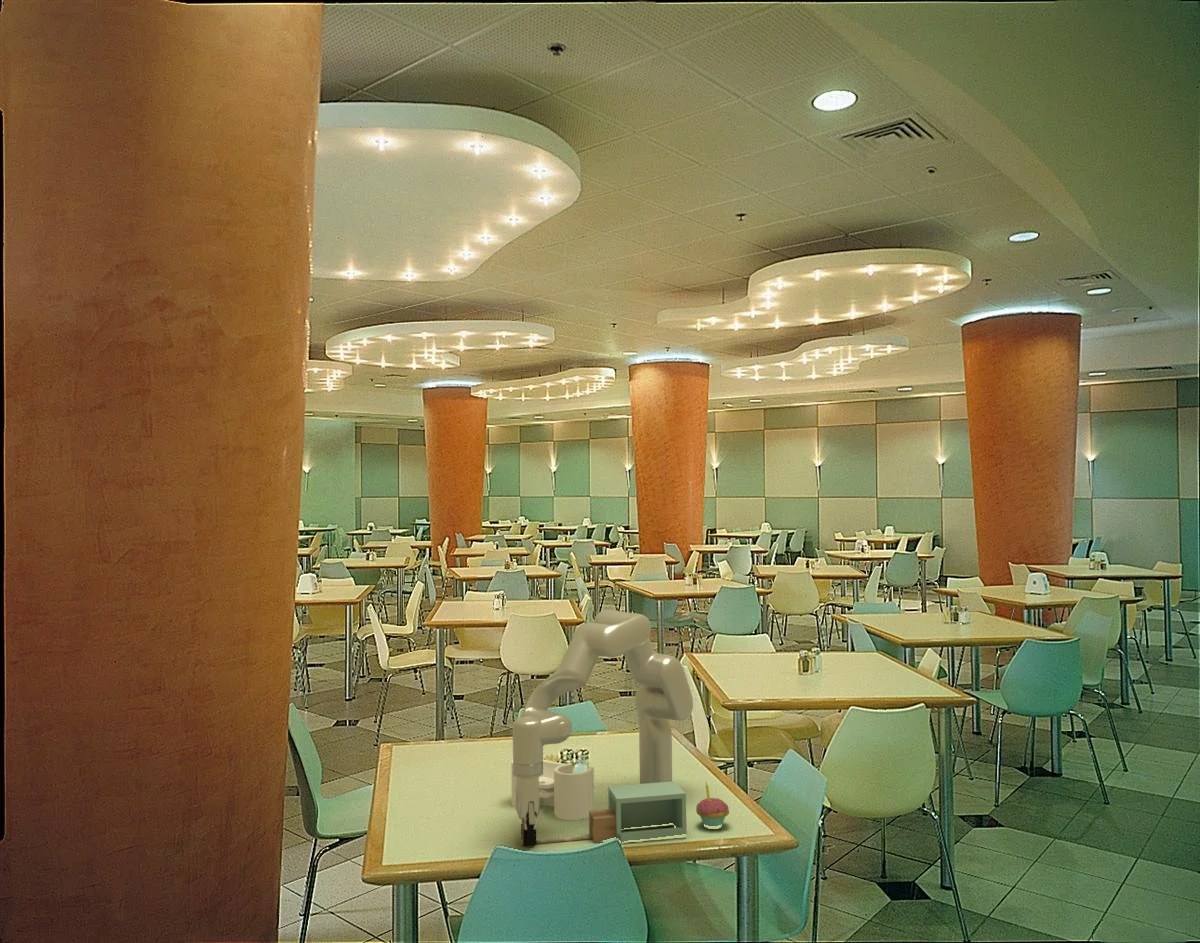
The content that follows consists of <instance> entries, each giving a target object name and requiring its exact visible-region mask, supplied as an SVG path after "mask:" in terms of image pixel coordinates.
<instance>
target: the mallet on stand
mask: <svg viewBox="0 0 1200 943" xmlns="http://www.w3.org/2000/svg"><path fill="white" fill-rule="evenodd" d="M526 816H529V815H526ZM527 821H529V820H527ZM521 824H522V839H521V844H522V847H524V848H531V847H535V846H536V845H543V844H549V843H550V844H552V843H553V844H554V843H562V842H563V843H564V842H572V841H573V842H574V841H581V840H583V841H584V840H591V841H592V842H593V844H600V843H599V842H601V841H603V840H607V839H610V838H614V837H616V814H615V813H614V811H613V810H612V809H608V808H605V809H594V810H592V811H589V817H588V833H589V835H583V836H581V835H580V836H573V837H572V836H571V837H570V836H569V837H561V838H552V839H549V838H548V839H540V840H538V839H537V840H536V845H534V846H524V845H523V829H524V818H522V819H521ZM601 843H602V842H601Z"/></svg>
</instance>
